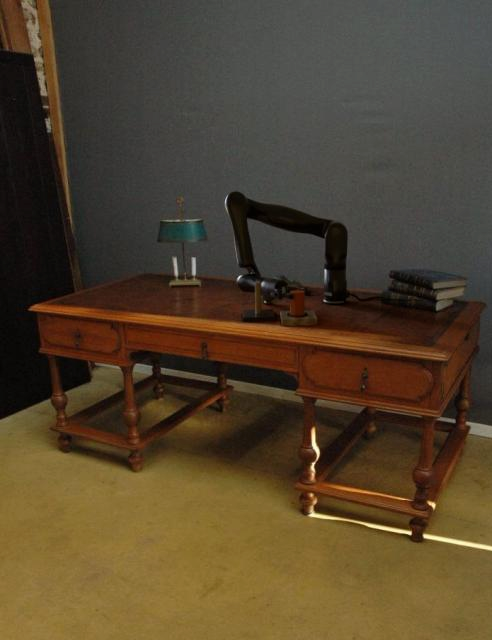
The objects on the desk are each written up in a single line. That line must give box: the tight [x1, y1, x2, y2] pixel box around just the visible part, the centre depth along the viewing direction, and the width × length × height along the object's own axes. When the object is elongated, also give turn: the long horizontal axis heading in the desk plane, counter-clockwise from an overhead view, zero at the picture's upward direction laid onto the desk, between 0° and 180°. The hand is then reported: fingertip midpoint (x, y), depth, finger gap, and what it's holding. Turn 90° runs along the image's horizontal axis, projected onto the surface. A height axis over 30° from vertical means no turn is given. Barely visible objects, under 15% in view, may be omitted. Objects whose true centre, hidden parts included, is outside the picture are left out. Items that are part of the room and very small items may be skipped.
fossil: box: [273, 274, 303, 286], centre depth 301 cm, size 18×11×15 cm
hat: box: [287, 290, 308, 317], centre depth 249 cm, size 8×8×9 cm
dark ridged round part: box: [261, 294, 276, 306], centre depth 277 cm, size 8×7×8 cm
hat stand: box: [242, 282, 276, 322], centre depth 256 cm, size 12×12×14 cm
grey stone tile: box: [279, 309, 318, 327], centre depth 251 cm, size 13×13×2 cm
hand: (301, 295), depth 247 cm, fingers open, 8 cm apart
